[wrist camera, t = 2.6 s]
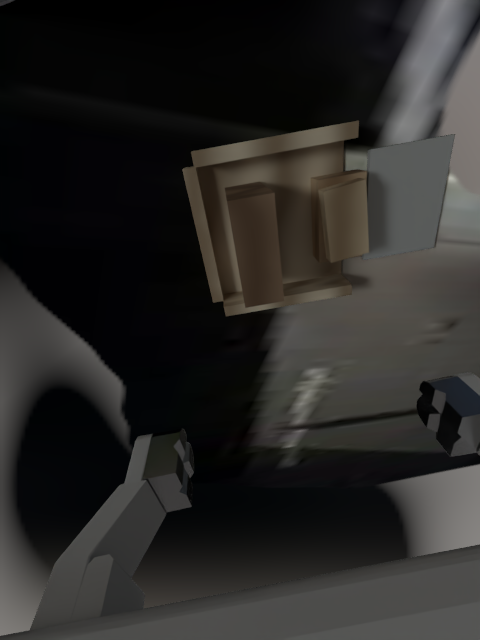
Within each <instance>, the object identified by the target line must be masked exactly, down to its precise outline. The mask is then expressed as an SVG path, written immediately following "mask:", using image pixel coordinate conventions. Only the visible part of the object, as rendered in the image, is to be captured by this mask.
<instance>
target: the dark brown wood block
mask: <svg viewBox="0 0 480 640" xmlns="http://www.w3.org/2000/svg"><path fill="white" fill-rule="evenodd" d="M225 193H226V199H227V205H228V211H229V217H230V223H231V228H232V234H233V240H234V246H235V252H236V258H237V264H238V269H239V275H240V281H241V286H242V292H243V298H244V303H245V308H248V307H253V306H259V305H265V304H271V303H276V302H282V301H284V293H283V282H282V271H281V260H280V249H279V238H278V227H277V216H276V205H275V194H274V192H273V191H272V190H270V189H269V188H268V187H266V186H265V185H264V184H262V183H261V182H260V181H259V182H254V183H248V184H243V185H237V186H232V187H226V188H225Z"/></svg>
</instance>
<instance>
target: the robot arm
mask: <svg viewBox="0 0 480 640" xmlns="http://www.w3.org/2000/svg"><path fill="white" fill-rule="evenodd" d="M419 390H420V391H421V392H422V395H421V396H420V397H419V398H418V400H417V410H418V414H419V416H420V418H421V420H422V422H423V423H424V424H425V426H426V427H427V428H429V429H431V430H433V431H435V432H436V440H437V441H438V442H439V443H440V445H441V446H442V447H443V448H444V449H445V451H446V452H447V453H448V454H449V456H450V457H452V456H458V455H464V454H470V453H476V452H478V454H479V455H480V378H478V377H477V376H476V375H475V374H473V373H470V372H467V373H462V374H457V375H453V376H446V377H441V378H437V379H432V380H427V381H423V382H422V383H421V384H420V389H419ZM193 473H194V458H193V452H192V448H191V445H190V444H189V443H187V442H186V433H185V431H184V429H178V430H172V431H166V432H160V433H154V434H149V435H144V436H139V437H138V438H137V440H136V441H135V445H134V449H133V453H132V457H131V460H130V464H129V468H128V472H127V476H126V480H125V484H122V485H119V487H118V488H117V489H116V490H115V491H114V493H113V494H112V495H111V496H110V497H109V499H108V500H107V501H106V502H105V503H104V505H103V506H102V507H101V508H100V510H99V511H98V512H97V513H96V514H95V516H94V517H93V518H92V519H91V521H90V522H89V523H88V524H87V525H86V526H85V528H84V529H83V530H82V531H81V533H80V534H79V535H78V536H77V537H76V538H75V540H74V541H73V542H72V543H71V545H70V546H69V547H68V548H67V549H66V551H65V552H64V553H63V554H62V555H61V557H60V558H59V559H58V560H57V562H56V563H55V565H54V568H53V570H52V573H51V576H50V578H49V581H48V584H47V586H46V589H45V591H44V594H43V597H42V599H41V602H40V605H39V607H38V610H37V612H36V615H35V618H34V620H33V623H32V626H31V628H30V630H29V631H24V632H19V633H13V634H8V635H3V636H0V640H480V545H475V546H470V547H465V548H460V549H454V550H449V551H444V552H438V553H434V554H428V555H423V556H417V557H412V558H407V559H402V560H397V561H392V562H386V563H381V564H375V565H370V566H365V567H360V568H355V569H349V570H344V571H339V572H333V573H328V574H323V575H318V576H312V577H307V578H303V579H297V580H291V581H286V582H281V583H276V584H271V585H265V586H260V587H255V588H249V589H244V590H239V591H234V592H228V593H223V594H218V595H213V596H208V597H203V598H197V599H192V600H187V601H181V602H176V603H171V604H165V605H160V606H155V607H150V608H144V609H143V606H144V599H145V594H144V593H143V591H142V590H141V589H140V588H139V586H138V585H137V584H136V583H135V582H134V581H133V580H132V579H131V577H132V576H133V574H134V572H135V570H136V568H137V566H138V565H139V563H140V561H141V559H142V557H143V556H144V554H145V552H146V550H147V548H148V546H149V545H150V543H151V541H152V539H153V537H154V535H155V534H156V532H157V530H158V528H159V526H160V525H161V523H162V521H163V519H164V517H165V515H166V513H165V512H170V511H174V510H179V509H183V508H187V507H192V496H193V484H192V482H191V480H190V477H191V476H192V474H193Z"/></svg>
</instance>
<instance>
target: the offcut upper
mask: <svg viewBox="0 0 480 640" xmlns="http://www.w3.org/2000/svg"><path fill="white" fill-rule="evenodd" d="M318 192H319V201H320V209H321V217H322V226H323V234H324V243H325V251H326V258H327V259H328V260H329V261H330V262H331V263H333V262H337V261H340V260H344V259H347V258H351V257H355V256H358V255H362V254H366V253H369V238H368V212H367V186H366V179H363V178H356V179H353V180H350V181H346V182H343V183H339V184H336V185H333V186H329V187H326V188H323V189H319V190H318Z"/></svg>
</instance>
